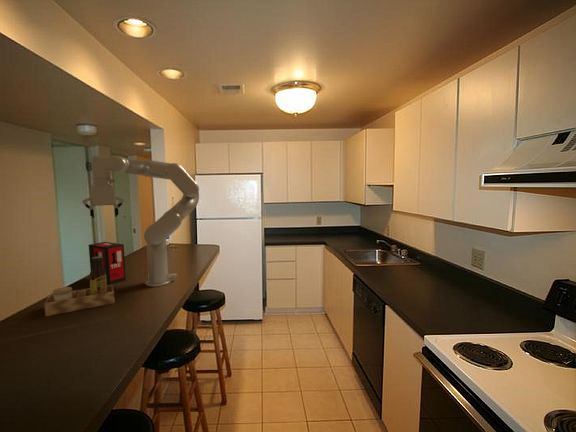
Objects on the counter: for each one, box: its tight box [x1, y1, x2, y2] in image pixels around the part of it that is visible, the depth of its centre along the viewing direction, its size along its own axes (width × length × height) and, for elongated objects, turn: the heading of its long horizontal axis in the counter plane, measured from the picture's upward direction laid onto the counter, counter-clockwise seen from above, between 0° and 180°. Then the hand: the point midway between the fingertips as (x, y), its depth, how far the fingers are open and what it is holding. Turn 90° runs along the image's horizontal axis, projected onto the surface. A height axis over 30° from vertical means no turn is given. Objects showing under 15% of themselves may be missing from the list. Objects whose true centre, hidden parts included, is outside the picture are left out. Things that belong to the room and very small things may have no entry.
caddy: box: [44, 284, 116, 317], centre depth 127 cm, size 24×11×6 cm, turn 123°
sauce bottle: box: [89, 256, 107, 295], centre depth 130 cm, size 6×6×20 cm
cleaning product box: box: [88, 241, 127, 285], centre depth 161 cm, size 16×9×20 cm, turn 63°
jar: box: [52, 286, 73, 302], centre depth 124 cm, size 6×6×8 cm
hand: (104, 217), depth 146 cm, fingers open, 9 cm apart
